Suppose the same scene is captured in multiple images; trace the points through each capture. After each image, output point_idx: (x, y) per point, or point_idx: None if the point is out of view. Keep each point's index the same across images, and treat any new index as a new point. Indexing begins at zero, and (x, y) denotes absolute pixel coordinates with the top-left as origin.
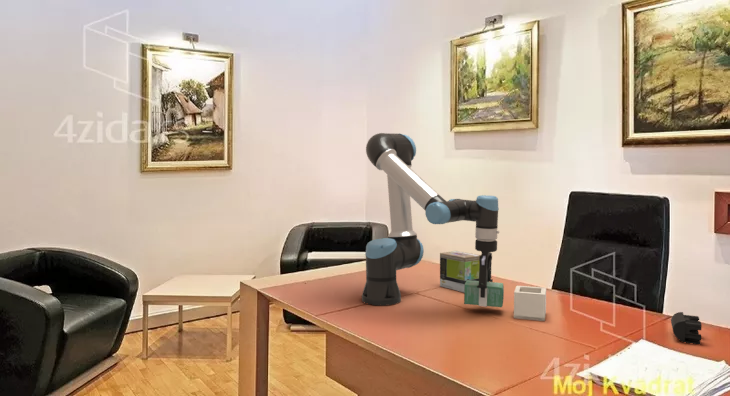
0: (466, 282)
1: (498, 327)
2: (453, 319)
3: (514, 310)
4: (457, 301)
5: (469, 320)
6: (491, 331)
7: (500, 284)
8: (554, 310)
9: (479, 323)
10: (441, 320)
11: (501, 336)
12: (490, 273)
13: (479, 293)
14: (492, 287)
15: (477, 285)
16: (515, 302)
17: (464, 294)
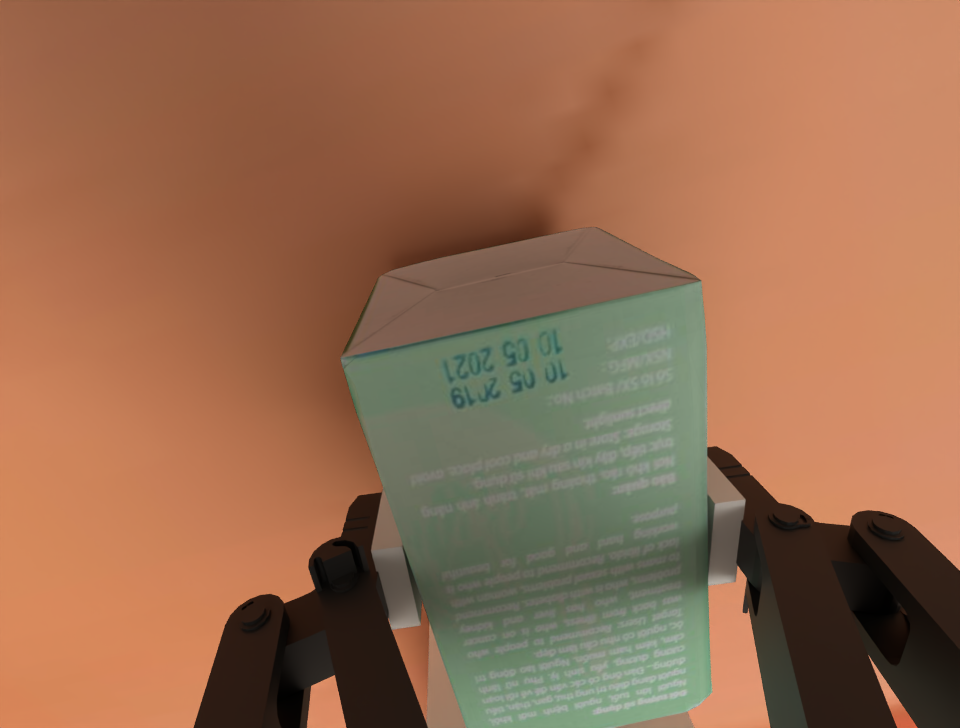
0: (482, 348)
1: (178, 574)
2: (136, 236)
3: (429, 649)
4: (759, 67)
5: (201, 368)
6: (63, 562)
7: (605, 714)
8: (690, 718)
9: (178, 453)
10: (23, 136)
11: (16, 628)
12: (886, 673)
13: (381, 500)
14: (447, 673)
15: (402, 534)
16: (429, 716)
17: (365, 307)
